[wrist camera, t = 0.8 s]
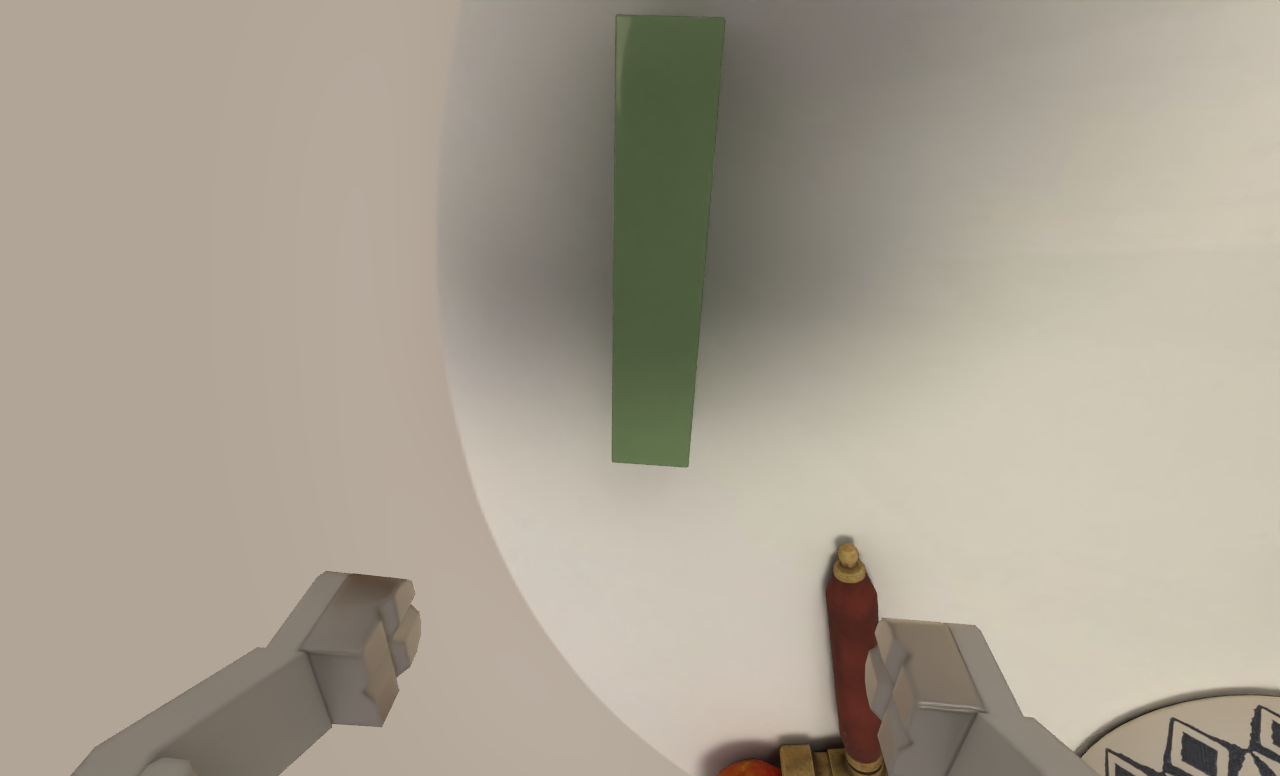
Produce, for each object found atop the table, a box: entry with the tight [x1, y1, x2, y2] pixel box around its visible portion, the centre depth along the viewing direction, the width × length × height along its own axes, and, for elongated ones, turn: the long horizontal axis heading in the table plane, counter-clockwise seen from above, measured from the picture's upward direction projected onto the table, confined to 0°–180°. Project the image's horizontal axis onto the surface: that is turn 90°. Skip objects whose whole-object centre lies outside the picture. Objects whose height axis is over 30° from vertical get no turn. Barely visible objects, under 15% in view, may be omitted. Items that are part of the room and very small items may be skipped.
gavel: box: [780, 543, 888, 776], centre depth 35 cm, size 21×5×10 cm
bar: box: [612, 14, 725, 467], centre depth 23 cm, size 16×3×4 cm, turn 178°
